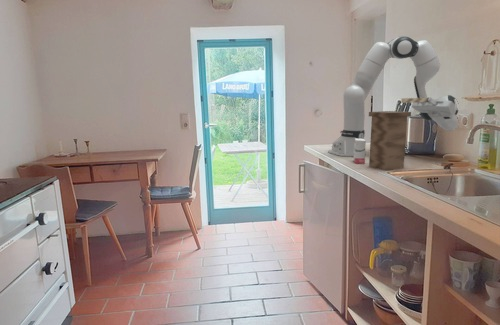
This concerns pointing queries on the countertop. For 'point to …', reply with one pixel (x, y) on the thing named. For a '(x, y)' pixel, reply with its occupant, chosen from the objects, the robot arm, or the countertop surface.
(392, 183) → the countertop surface
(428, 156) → the countertop surface
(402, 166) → the wooden canister
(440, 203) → the countertop surface
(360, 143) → the ink box
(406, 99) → the stick
